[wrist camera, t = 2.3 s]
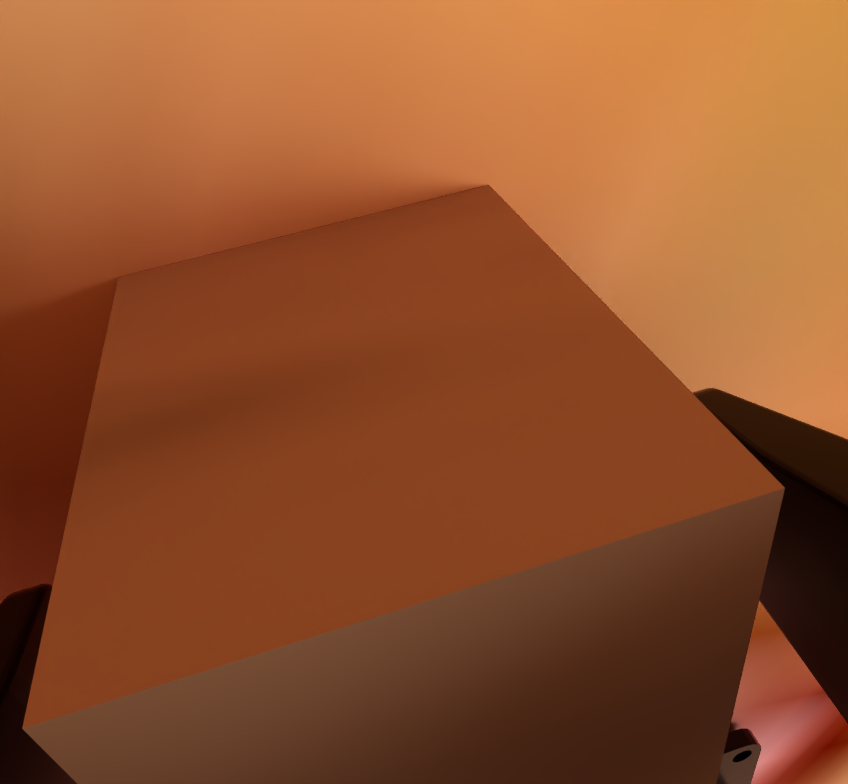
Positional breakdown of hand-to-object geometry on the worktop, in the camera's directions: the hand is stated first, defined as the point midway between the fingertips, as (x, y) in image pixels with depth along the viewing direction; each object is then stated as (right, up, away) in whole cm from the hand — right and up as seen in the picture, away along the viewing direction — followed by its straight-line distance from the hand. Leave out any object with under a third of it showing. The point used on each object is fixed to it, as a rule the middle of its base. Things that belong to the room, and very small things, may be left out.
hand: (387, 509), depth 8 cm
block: (0, +1, +1) cm, 1 cm away
